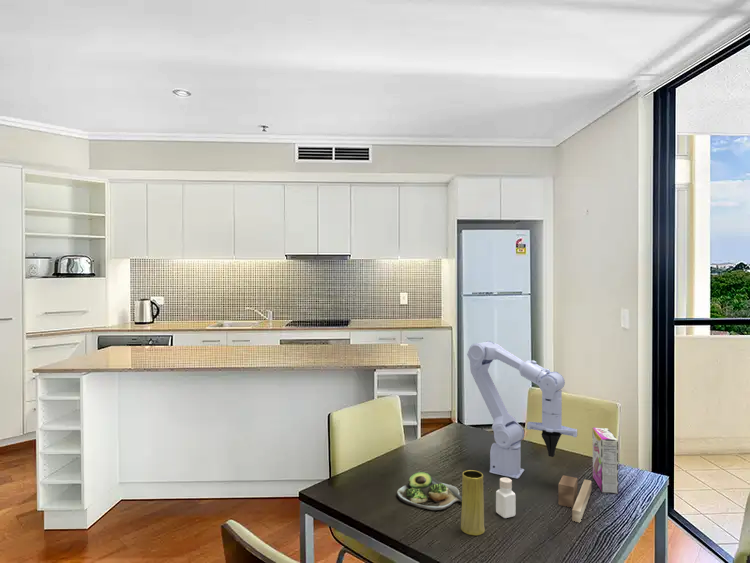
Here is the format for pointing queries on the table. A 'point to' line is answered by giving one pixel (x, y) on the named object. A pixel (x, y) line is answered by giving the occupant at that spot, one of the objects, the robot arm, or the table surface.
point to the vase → (472, 503)
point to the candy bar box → (605, 460)
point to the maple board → (581, 501)
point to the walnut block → (567, 491)
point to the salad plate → (428, 492)
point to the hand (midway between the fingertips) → (551, 455)
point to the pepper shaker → (505, 499)
